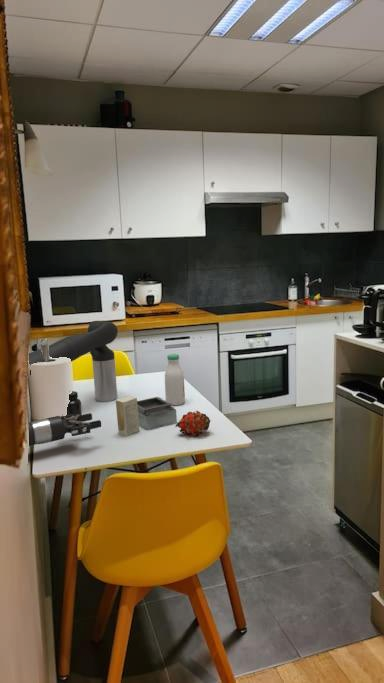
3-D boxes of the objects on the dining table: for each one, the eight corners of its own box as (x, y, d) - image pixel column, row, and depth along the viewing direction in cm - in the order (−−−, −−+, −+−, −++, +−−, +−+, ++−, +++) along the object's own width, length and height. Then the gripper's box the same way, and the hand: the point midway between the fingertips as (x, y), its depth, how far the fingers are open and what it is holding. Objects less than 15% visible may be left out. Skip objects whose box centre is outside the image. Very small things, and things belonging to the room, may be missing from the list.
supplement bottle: (66, 429, 178) (63, 396, 175) (61, 423, 184) (58, 392, 181) (84, 425, 181) (82, 393, 178) (79, 420, 187) (77, 389, 184)
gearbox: (127, 417, 187) (126, 401, 186) (156, 411, 193) (155, 395, 192) (146, 430, 173) (145, 412, 172) (176, 422, 179) (175, 405, 178)
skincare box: (132, 428, 176) (130, 395, 173) (140, 431, 173) (137, 397, 170) (117, 433, 171) (114, 399, 169) (125, 436, 168) (122, 402, 166)
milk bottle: (182, 406, 197) (180, 357, 194) (163, 405, 199) (161, 357, 195) (186, 400, 205) (184, 352, 201) (168, 399, 206) (166, 352, 203)
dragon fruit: (214, 437, 168) (179, 445, 168) (208, 417, 174) (174, 424, 173) (212, 423, 162) (176, 431, 161) (207, 402, 168) (172, 410, 167)
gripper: (52, 425, 150) (103, 414, 158) (40, 413, 162) (88, 403, 170) (54, 448, 151) (105, 437, 159) (42, 434, 163) (89, 424, 171)
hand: (96, 419), depth 165 cm, fingers open, 8 cm apart
